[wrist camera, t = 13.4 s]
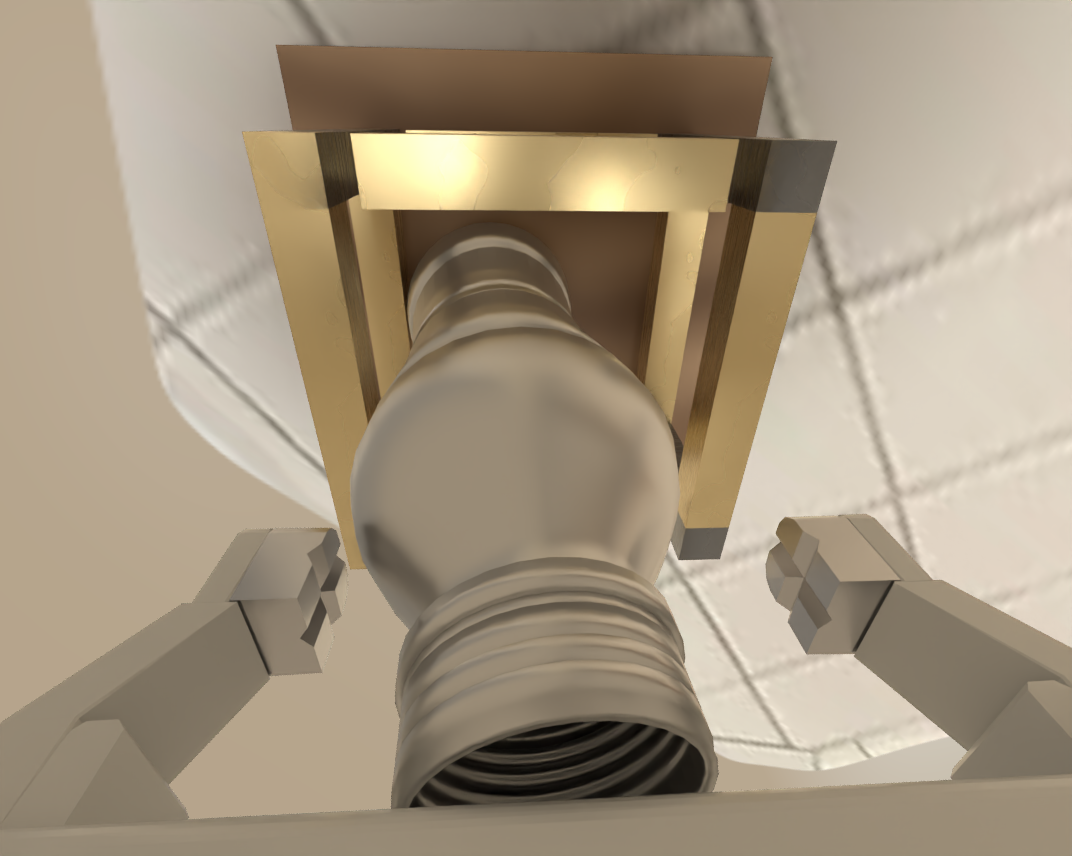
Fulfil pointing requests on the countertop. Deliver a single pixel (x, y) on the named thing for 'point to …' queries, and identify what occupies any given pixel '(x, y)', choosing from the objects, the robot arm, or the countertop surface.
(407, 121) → the walnut board
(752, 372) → the frame
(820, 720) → the countertop surface
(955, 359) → the countertop surface
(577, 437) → the plastic bottle
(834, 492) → the countertop surface
